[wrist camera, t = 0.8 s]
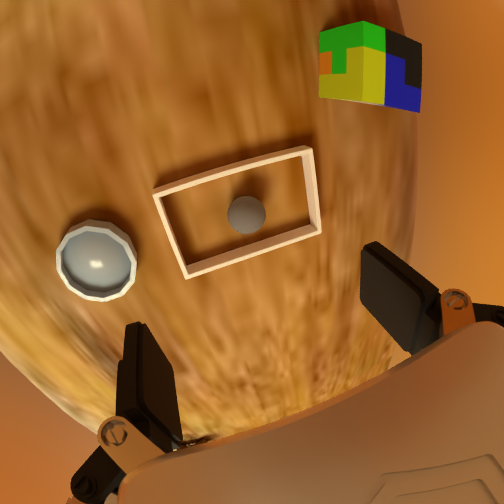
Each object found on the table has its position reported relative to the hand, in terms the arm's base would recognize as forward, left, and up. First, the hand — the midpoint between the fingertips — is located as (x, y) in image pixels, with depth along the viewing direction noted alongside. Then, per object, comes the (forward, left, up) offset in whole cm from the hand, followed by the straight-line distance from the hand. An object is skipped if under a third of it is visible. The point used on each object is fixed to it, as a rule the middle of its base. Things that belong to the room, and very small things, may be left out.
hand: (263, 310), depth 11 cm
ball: (+8, +5, -28) cm, 30 cm away
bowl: (+8, -17, -28) cm, 34 cm away
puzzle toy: (-9, +25, -29) cm, 39 cm away
